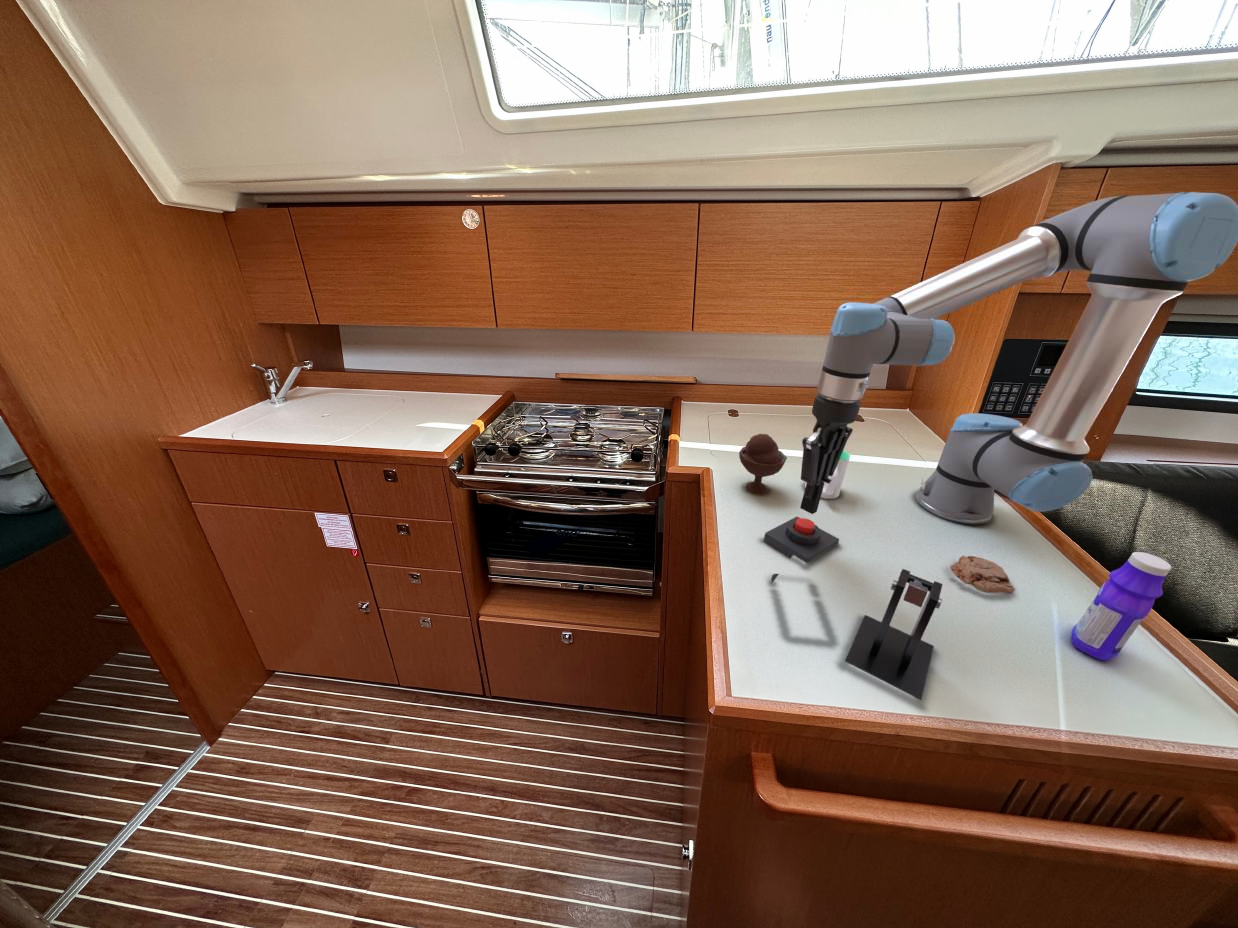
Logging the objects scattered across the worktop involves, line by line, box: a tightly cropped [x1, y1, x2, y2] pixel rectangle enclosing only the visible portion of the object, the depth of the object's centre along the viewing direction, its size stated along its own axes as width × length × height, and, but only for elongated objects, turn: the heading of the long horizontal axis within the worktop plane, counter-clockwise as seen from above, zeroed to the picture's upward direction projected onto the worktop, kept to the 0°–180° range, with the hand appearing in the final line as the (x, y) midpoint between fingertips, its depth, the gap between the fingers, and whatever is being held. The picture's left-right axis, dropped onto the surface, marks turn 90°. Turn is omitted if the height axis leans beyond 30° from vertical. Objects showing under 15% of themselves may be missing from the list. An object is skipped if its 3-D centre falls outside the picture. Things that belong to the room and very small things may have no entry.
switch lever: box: [898, 570, 934, 608], centre depth 70 cm, size 12×5×2 cm, turn 142°
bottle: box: [1070, 551, 1172, 661], centre depth 71 cm, size 7×6×17 cm
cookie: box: [950, 555, 1016, 594], centre depth 88 cm, size 10×11×3 cm
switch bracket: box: [844, 568, 943, 701], centre depth 68 cm, size 12×10×15 cm
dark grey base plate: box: [763, 516, 840, 563], centre depth 96 cm, size 11×10×4 cm
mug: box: [804, 450, 851, 500], centre depth 113 cm, size 12×8×10 cm
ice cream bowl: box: [738, 433, 788, 495], centre depth 113 cm, size 11×11×15 cm
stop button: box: [794, 517, 816, 535], centre depth 95 cm, size 4×4×2 cm
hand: (808, 509), depth 93 cm, fingers closed
